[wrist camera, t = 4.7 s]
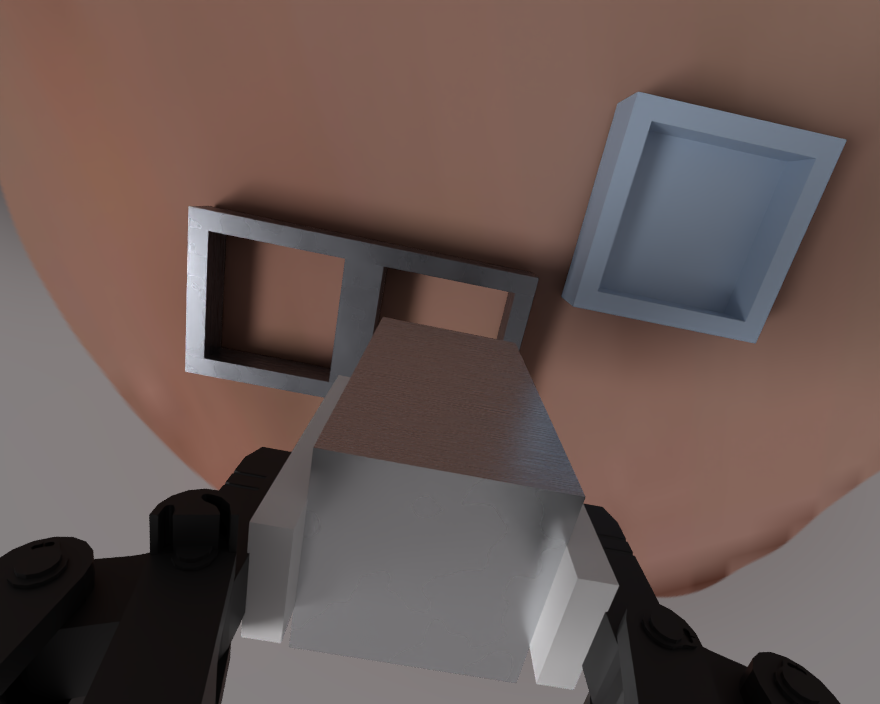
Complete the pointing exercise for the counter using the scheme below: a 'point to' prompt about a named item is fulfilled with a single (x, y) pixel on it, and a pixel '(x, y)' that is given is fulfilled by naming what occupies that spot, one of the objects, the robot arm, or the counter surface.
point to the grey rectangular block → (434, 508)
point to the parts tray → (696, 216)
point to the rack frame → (356, 298)
